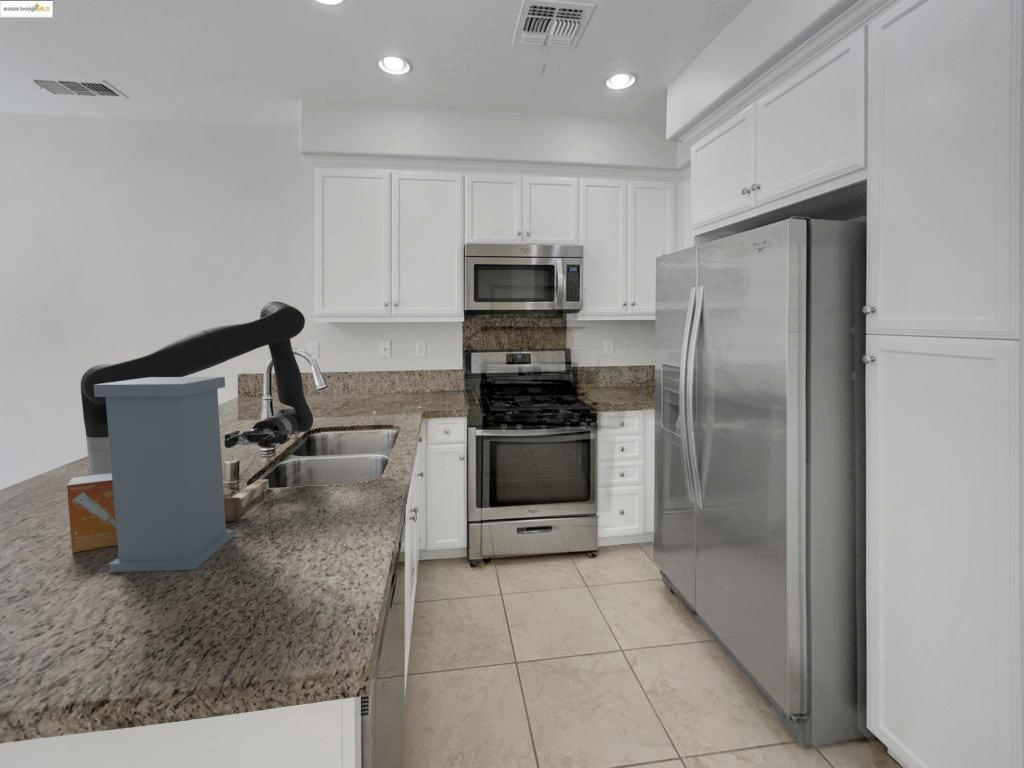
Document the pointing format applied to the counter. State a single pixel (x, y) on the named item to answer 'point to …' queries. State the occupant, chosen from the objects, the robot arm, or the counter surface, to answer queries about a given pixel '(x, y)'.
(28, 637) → the counter surface
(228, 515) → the mallet
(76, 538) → the small box
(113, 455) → the stand
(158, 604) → the counter surface
